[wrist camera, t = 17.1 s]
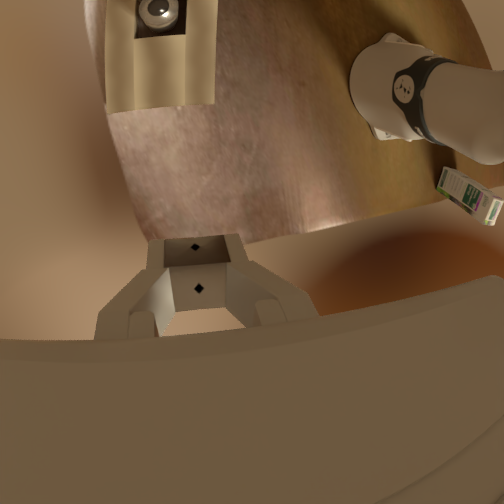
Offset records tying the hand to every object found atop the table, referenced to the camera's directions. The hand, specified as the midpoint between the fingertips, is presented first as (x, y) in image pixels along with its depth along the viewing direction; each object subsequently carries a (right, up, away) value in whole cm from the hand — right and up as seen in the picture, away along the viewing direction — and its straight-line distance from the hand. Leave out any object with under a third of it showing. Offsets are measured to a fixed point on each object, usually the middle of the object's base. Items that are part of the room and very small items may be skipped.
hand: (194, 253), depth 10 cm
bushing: (-9, +29, +16) cm, 34 cm away
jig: (-9, +26, +18) cm, 33 cm away
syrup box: (+44, +16, +42) cm, 62 cm away
